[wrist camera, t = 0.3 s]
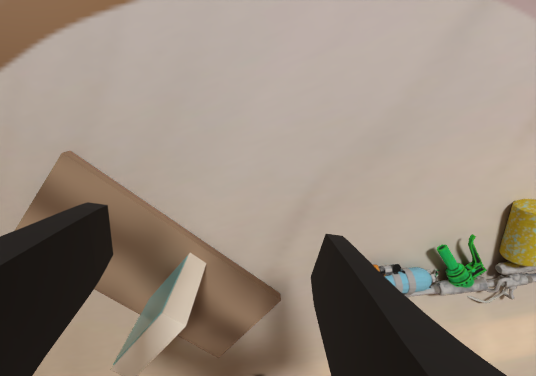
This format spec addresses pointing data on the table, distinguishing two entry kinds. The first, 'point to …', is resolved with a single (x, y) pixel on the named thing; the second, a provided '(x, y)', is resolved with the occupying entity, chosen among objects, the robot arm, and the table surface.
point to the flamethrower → (478, 263)
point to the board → (156, 256)
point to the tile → (161, 318)
